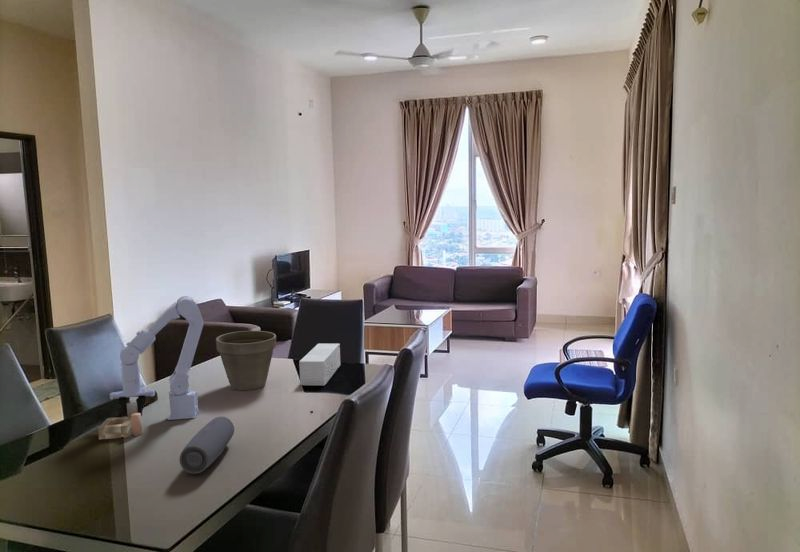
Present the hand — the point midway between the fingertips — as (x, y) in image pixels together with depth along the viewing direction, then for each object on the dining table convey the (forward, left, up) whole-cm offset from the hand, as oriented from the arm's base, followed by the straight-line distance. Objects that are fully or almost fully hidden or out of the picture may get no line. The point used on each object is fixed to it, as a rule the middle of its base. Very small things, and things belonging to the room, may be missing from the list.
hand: (134, 416), depth 199 cm
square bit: (0, 0, -2) cm, 2 cm away
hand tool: (+4, -17, -3) cm, 18 cm away
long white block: (-67, -45, -3) cm, 81 cm away
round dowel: (-4, +11, -2) cm, 12 cm away
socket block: (+3, +8, -2) cm, 9 cm away
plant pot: (-36, -36, -3) cm, 51 cm away
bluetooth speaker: (-32, +37, -3) cm, 49 cm away
